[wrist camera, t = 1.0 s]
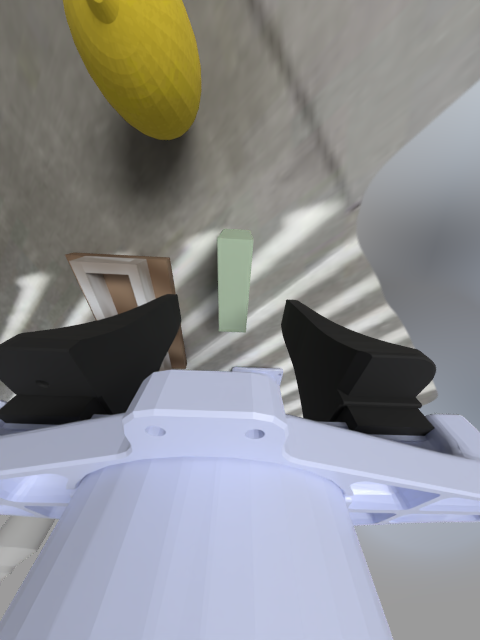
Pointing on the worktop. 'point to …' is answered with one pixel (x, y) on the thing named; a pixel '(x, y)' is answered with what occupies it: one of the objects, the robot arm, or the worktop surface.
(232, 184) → the worktop surface
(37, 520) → the bottle
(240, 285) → the pale green rectangular block
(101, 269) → the track base
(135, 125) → the lemon
